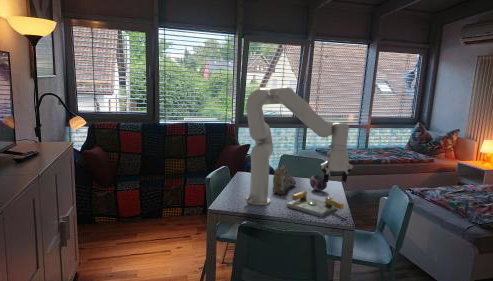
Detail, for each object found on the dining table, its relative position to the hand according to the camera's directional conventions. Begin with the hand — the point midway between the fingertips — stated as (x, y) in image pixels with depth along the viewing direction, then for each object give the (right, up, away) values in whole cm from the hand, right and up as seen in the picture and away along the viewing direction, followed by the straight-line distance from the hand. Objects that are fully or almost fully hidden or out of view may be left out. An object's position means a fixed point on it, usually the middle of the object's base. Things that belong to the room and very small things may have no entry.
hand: (335, 181), depth 167 cm
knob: (0, -13, +2) cm, 14 cm away
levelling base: (-10, -14, +6) cm, 19 cm away
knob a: (-16, -11, +12) cm, 23 cm away
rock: (-21, -10, +37) cm, 44 cm away
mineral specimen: (0, -10, +38) cm, 40 cm away
